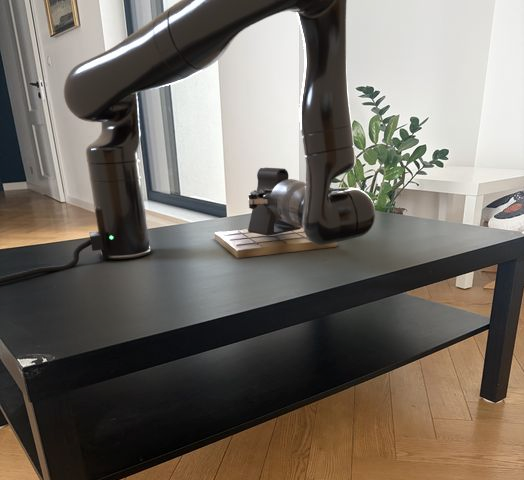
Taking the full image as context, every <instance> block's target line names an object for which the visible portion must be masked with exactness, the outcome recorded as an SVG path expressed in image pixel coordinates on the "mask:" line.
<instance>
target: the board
mask: <svg viewBox="0 0 524 480" xmlns="http://www.w3.org/2000/svg"><path fill="white" fill-rule="evenodd" d="M214 240H215V241H216V242H217V243H218V244H220V245H221V246H222V247H223V248H224V249H226V250H227V251H228V252H229V253H230V254H232V255H233V256H234V257H235V258H236V259H243V258H250V257H251V258H252V257H260V256H267V255H268V256H269V255H277V254H286V253H293V252H303V251H310V250H319V249H328V248H329V249H330V248H335V247H337V243H338V242H336V243H332V244H327V245H316V244H314V243H312V242H311V241H310V240H309V239H308V237H307V236H306V234H305V232H304V229H303V228H301V229H299V230H294V231H289V232H284V233H279V234H274V235H269V236H267V235H261V234H256V233H251V232H248V228H245V229H235V230H227V231H217V232H214Z"/></svg>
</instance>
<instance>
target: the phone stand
mask: <svg viewBox="0 0 524 480" xmlns="http://www.w3.org/2000/svg"><path fill="white" fill-rule="evenodd" d="M256 178H257V187H256V191H259V189H268V188H275V186H276V185H277V184H279V183H280V182H282V181H284V180H287V179H289V172H288V170H287V169H286V168H280V167H279V168H278V167H260V168H259V169H258V170H257V174H256ZM247 229H248V232H251V233H256V234H261V235H267V236H269V235H274V234H279V233H284V232H289V231H294V230H299V229H301V228H300V227H295V226H293V225H290V224H288V223H286V222H284V221H281V220H279V219H278V218H277V217H276V216H275V215H274V214H273V212H272V210H271V209H270V208H267V207H264V205H263V204H259V207H256V208H254V209H251V216H250V219H249V223H248V228H247Z"/></svg>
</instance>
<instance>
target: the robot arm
mask: <svg viewBox="0 0 524 480" xmlns="http://www.w3.org/2000/svg"><path fill="white" fill-rule="evenodd" d="M283 12H284V13H285V12H291V13H292V12H293V13H296V15H297V18H298V22H299V25H300V26H299V27H300V30H301V34H302V40H303V47H304V48H303V49H304V72H303V81H302V88H301V95H300V104H299V105H300V107H299V122H300V132H301V140H302V145H303V152H304V158H305V181H302V180H298V179H293V178H288V179H287V180H284V181H282V182H280V183H279V184H277V185H276V186H275V188H268V189H259V191H257V189H256V190H255V189H254V190H252V191H250V193H249V194H248V208H249V209H251V210H252V209H254V208H256V207H259V204H263V205H264V207H267V208H270V209H271V210H272V212H273V214H274V215H275V216H276V217H277V218H278V219H279V220H281V221H284V222H286V223H288V224H290V225H293V226H295V227H300V228H303V229H304V232H305V234H306V236H307V237H308V239H309V240H310V241H311V242H312V243H314V244H316V245H327V244H332V243H336V242H337V243H340V242H345V241H348V240H353V239H357V238H360V237H363V236H365V235H367V234H368V233H369V232H370V231H371V229H372V228H373V227H374V224H375V220H376V207H375V205H374V202H373V200H372V198H371V197H370V196H369V195H368V194H367V193H366V192H365V191H363V190H361V189H359V188H356V187H333V188H331V185H332V183H333V181H334V180H335V179H336V178H338V177H340V176H342V175H344V174H346V173H348V172H350V171H352V170H353V168H354V167H355V166H356V151H355V147H354V146H355V143H354V134H353V133H354V132H353V127H352V126H353V125H352V118H351V117H352V116H351V109H350V100H349V89H348V75H347V74H348V73H347V0H179V1H178V2H176V3H174V4H173V5H172V6H170V7H168V8H167V9H165V10H164V11H163V12H161V13H160V14H158V15H156V16H155V17H154V18H153V19H152V20H150V21H149V22H148V23H146V24H144V25H143V26H141V27H140V28H139V29H137V30H135V31H134V32H132V33H131V34H130V35H129V36H127V37H125V38H124V39H123V40H122V41H120V42H118V43H117V44H116V45H114V46H113V47H111V48H109V49H107V50H106V51H104V52H102V53H99V54H97V55H95V56H93V57H91V58H89V59H86V60H84V61H82V62H80V63H78V64H76V65H75V66H74V67H72V69H71V70H70V71H69V73H68V74H67V76H66V78H65V81H64V83H63V84H64V85H63V99H64V103H65V105H66V107H67V109H68V110H69V112H70V113H72V114H73V115H74V117H76V118H77V119H80V120H82V121H85V122H90V123H101V130H100V134H99V136H98V138H97V139H95V141H93V142H91V143H90V144H88V145H87V147H86V149H85V157H86V163H87V169H88V175H89V182H90V188H91V194H92V199H93V209H94V215H95V216H94V217H95V221H96V227H97V231H91V232H89V239H88V240H85V241H84V242H83V243H81V244H79V245H78V246H77V247H76V248H75V249H74V251H73V254H72V256H73V257H72V260H71V261H69V262H68V263H65V264H63V265H55V266H54V265H52V266H41V267H36V268H32V269H28V270H24V271H20V272H16V273H12V274H8V275H3V276H0V284H4V283H8V282H12V281H16V280H20V279H23V278H27V277H30V276H36V275H39V274H45V273H54V272H59V271H63V270H64V271H65V270H67V269H72V268H73V267H75V266H76V265H77V264H78V262H79V260H80V253H81V252H82V251H83V250H84V249H86V248H88V247H89V246H91V251H92V252H95V251H96V252H97V251H100V254H101V257H102V260H104V261H105V260H131V259H136V258H142V257H145V256H147V255H149V254H150V253H151V252H152V251H151V247H150V239H149V231H148V222H147V214H146V207H145V206H146V205H145V199H144V189H143V183H142V174H141V166H140V160H139V149H140V145H141V129H140V113H139V101H138V95H137V94H138V93H142V92H145V91H149V90H154V89H158V88H161V87H165V86H169V85H173V84H176V83H179V82H182V81H185V80H186V79H189V78H191V77H192V76H194V75H196V74H198V73H200V72H202V71H204V70H205V69H207V68H209V67H211V66H212V65H213V64H215V63H216V62H217V61H219V60H220V58H221V57H222V56H223V55H224V54H225V53H226V52H227V50H228V48H229V47H230V46H231V45H232V43H233V41H234V40H235V39H236V38H237V37H238V35H239V34H241V33H242V32H244V31H245V30H246V29H248V28H250V27H251V26H253V25H256V24H257V23H259V22H261V21H264V20H266V19H268V18H270V17H272V16H275V15H278V14H281V13H283Z"/></svg>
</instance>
